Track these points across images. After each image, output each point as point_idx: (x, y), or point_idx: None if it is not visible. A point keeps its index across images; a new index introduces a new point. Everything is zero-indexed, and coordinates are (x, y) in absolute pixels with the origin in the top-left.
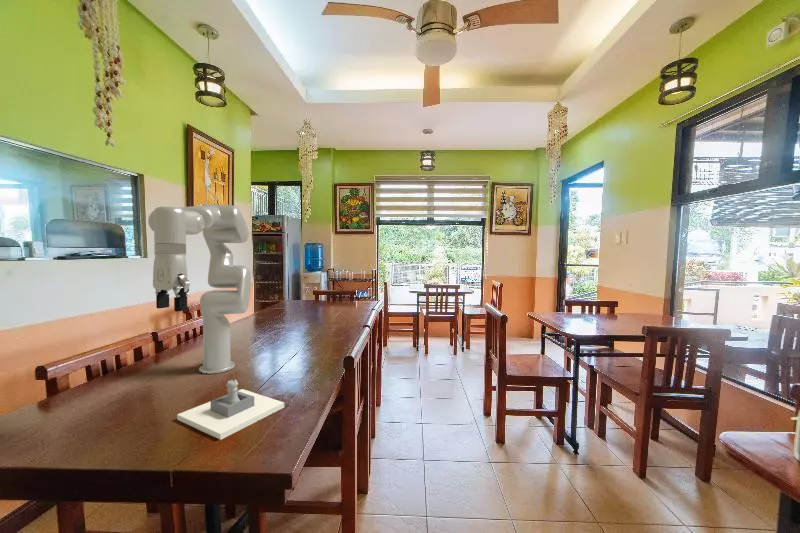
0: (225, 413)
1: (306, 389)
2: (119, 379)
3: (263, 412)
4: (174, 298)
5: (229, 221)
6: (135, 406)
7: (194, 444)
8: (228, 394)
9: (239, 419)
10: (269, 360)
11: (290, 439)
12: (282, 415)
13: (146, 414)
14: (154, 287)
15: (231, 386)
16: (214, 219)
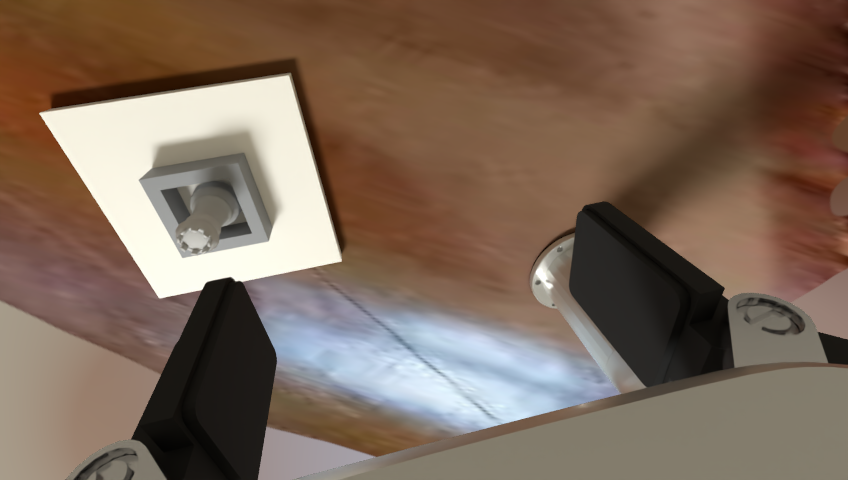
0: (162, 169)
1: None
2: (761, 54)
3: (125, 243)
4: (163, 404)
5: None
6: (498, 17)
7: (66, 46)
8: (200, 209)
9: (117, 184)
10: (505, 365)
11: None
12: (114, 270)
13: (406, 20)
14: (801, 376)
15: (177, 228)
16: None
